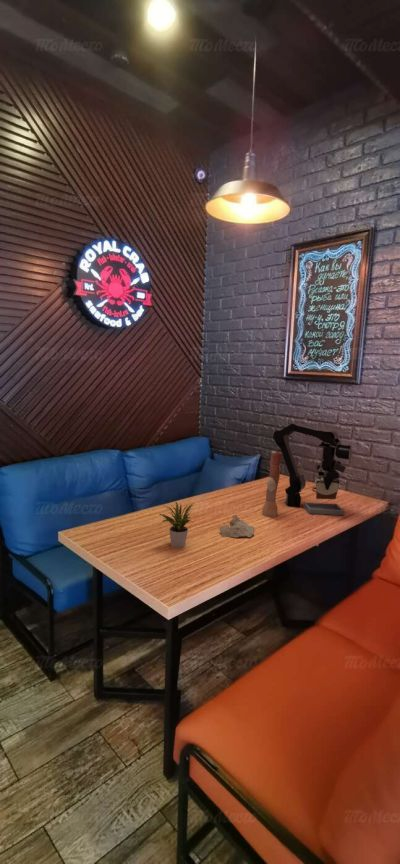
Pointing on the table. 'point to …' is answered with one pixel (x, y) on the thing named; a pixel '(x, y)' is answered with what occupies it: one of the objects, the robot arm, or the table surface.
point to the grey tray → (323, 509)
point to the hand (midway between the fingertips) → (325, 488)
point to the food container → (325, 488)
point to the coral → (237, 529)
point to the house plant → (178, 525)
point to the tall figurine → (272, 486)
